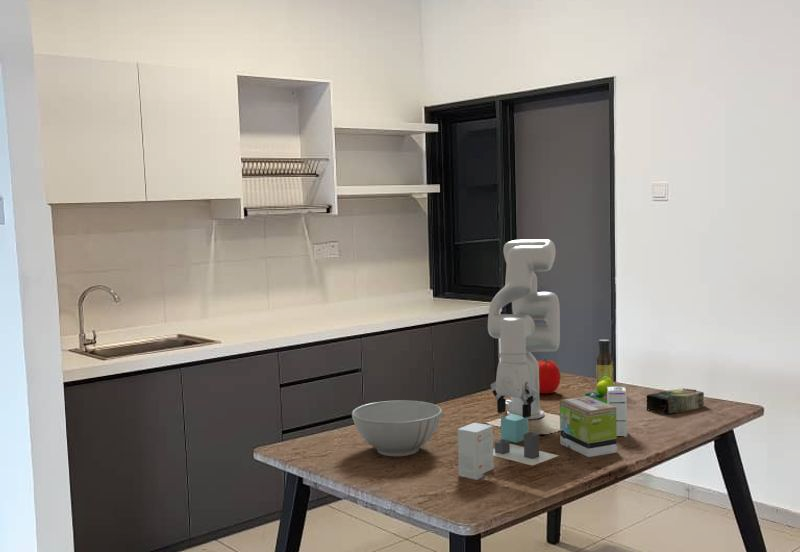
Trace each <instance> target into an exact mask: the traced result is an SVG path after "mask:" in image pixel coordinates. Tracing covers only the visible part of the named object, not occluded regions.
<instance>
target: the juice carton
mask: <svg viewBox="0 0 800 552" xmlns="http://www.w3.org/2000/svg"><path fill="white" fill-rule="evenodd" d="M704 399H705V392H703V391H701V390H697V389H693V388H692V389H690V388H683V387H682V388H676V389H675V388H674V389H669V390H665V391H659V392H656V393H651V394H647V395H646V411H648V409H649V410H652V409H653V408H654V409H659V408H662V407H664V409H663V413H665V414H667V415H669V414H671V415H672V414H673V413H675V414H678V413H683V412H684V413H685V412H688V411H692V410H696V409H700V408H704V407H705V401H704ZM654 409H653V410H654Z"/></svg>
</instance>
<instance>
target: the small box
mask: <svg viewBox="0 0 800 552" xmlns="http://www.w3.org/2000/svg"><path fill="white" fill-rule="evenodd" d="M493 428H494V427H493V425H491V424H485V423H479V422H473V423H470V424H466V425H465V426H464V425H463V426H462V427H460V428H457V429H456V430H457V431H456V432H457V453H458V454H457V456H458V457H457V459H458V461H457V462H458V476H459V477H463V478H467V479H470V480H475V481H477V480H480V479H482V478H484V477H487V476H488V474H487V472H490V471H492V470H494V467H495V466H494V465H495V464H494V455H493V449H494V429H493Z"/></svg>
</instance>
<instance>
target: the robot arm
mask: <svg viewBox="0 0 800 552" xmlns="http://www.w3.org/2000/svg"><path fill="white" fill-rule="evenodd" d="M556 251H557V250H556V246H555V243H554V241H552V240H551V239H514V240H510V241H507V242H505V244H504V245H503V256H504V257H503V258H504V261H505V263H506V268H505V269H506V272H505V282H504V283H505V285H504V286H503V287H502V288H501V289H500V290H499V291H498V292H497V293H496V294H495V296H494V297H493V298H492V300H491V301H490V304H489V309H488V318H487V332H488V334H489V336H490V337H492V338H493V339H500V352H499V354H498V357H499V358H500V362H498V364H497V367H496V368H497V370H496V377H495V378H496V379H495V381H494V382H492V383H490V388H491V390H492V394H493V395H494V398H495V400H496V401H497V402H496V404H497V405H496V406H497V407H496V408H497V413H498V414H501V413H502V414H503V413H505V412H506V416H508V415H512V414H515V415H519V416H523V418H527V417H528V420H535V419H540V418H543V417H544V416H545V411H544V410H542V409H540V393H539V365H538V362H537V361H538V359H536V357H535V356H534V355H533V353H541V352H542V353H552V352H557V350H559V347H560V342H561V332H560V331H561V321H560V319H561V318H560V317H561V312H560V311H561V310H560V308H561V307H560V301H559V297H558V294H556V293H554V292H551V291H538V277H537V275H536V273H535V272H549V271H550V270H551V269H552V268H553V265H554V262H555V259H556ZM510 303H511V308H512V309H511V310H512V314H510V313H509V314H508V313H500V310H501V309H503V307H505V306H507V305H508V304H510ZM499 313H500V314H499ZM536 320H537V321H539V320H541V321H545V322H546V323H536V322H535V321H536ZM505 397H509V398H510V399H506V398H505ZM507 407H508V410H507Z"/></svg>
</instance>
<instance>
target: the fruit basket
mask: <svg viewBox="0 0 800 552" xmlns="http://www.w3.org/2000/svg"><path fill="white" fill-rule="evenodd" d="M607 387H612V380H611V379H610V377H607V376H604V377H603V378H602V380H601V381H600V382H599V383H598V384H597V383H596V388H597V389H598V391H597V389H596V390H593V391H591V392H588V393H584V394H582V397H584V396H588V397H590V398H593V399H596V400H598V401H601V402H604V403H607Z"/></svg>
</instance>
